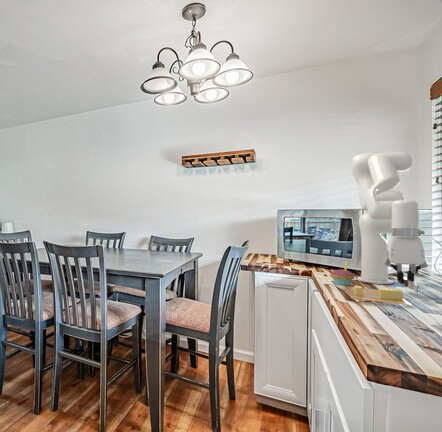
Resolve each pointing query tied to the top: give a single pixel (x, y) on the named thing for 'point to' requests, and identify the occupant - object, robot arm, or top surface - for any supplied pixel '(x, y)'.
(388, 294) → the butter
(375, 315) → the top surface
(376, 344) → the top surface
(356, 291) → the butter pat
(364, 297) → the board
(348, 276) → the birthday cake
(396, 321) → the top surface
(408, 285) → the knife
